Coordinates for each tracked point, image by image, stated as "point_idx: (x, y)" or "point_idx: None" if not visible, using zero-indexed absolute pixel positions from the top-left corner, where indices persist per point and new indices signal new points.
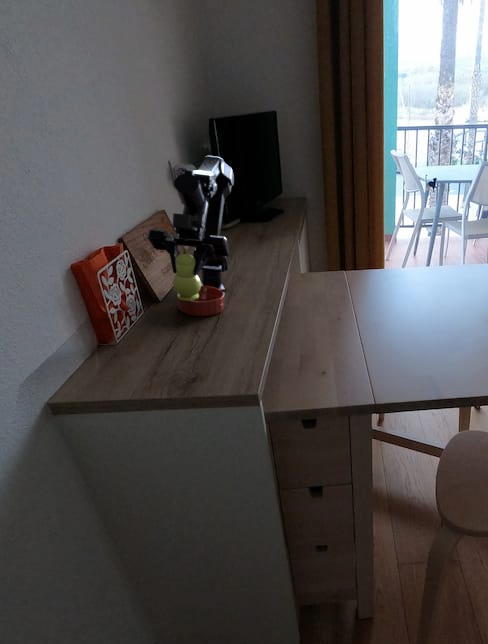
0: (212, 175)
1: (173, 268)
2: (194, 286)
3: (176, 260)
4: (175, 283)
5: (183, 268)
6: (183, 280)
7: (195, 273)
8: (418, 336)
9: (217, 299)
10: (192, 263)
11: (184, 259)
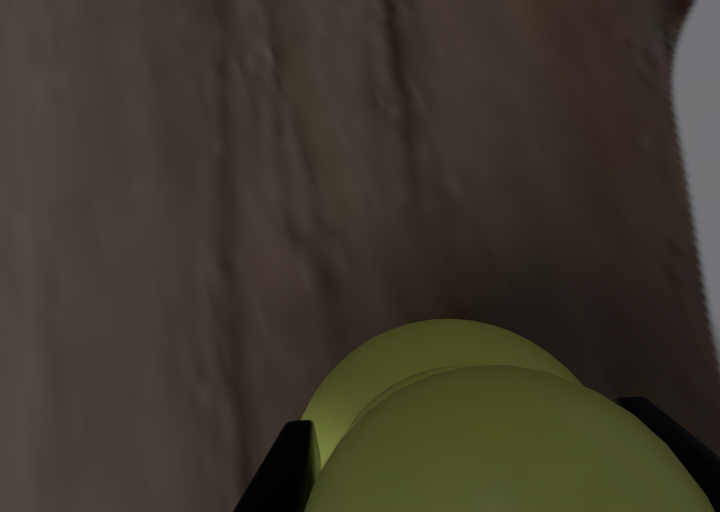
0: None
1: (662, 423)
2: (323, 381)
3: (673, 455)
4: (545, 352)
5: (460, 366)
6: (444, 344)
7: (285, 430)
8: None
9: None
10: (314, 493)
11: (467, 421)
